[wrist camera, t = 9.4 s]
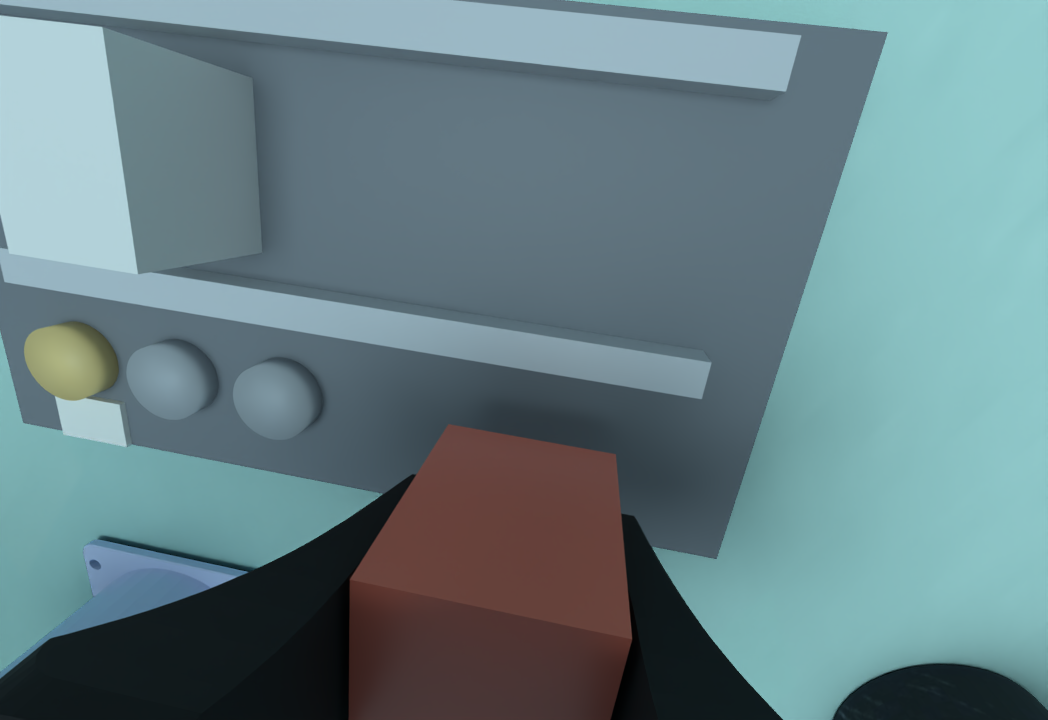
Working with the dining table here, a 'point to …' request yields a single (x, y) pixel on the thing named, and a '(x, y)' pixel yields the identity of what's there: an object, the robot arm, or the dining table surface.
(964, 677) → the travel mug
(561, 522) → the block
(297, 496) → the dining table surface
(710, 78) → the panel
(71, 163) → the lever
